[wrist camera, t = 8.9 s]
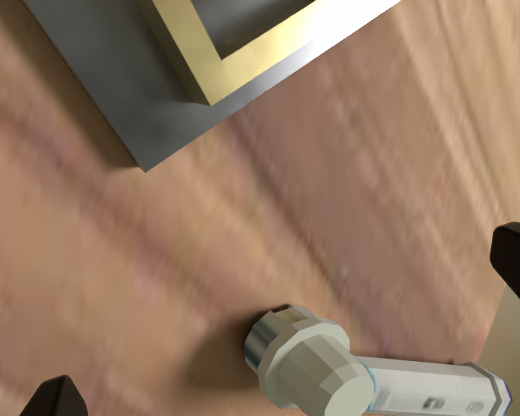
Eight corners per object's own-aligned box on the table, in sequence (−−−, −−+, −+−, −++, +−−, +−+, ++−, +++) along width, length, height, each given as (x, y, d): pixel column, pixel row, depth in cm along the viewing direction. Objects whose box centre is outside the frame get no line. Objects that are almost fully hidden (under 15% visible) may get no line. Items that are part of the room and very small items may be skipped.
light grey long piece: (497, 439, 34) (299, 472, 18) (426, 386, 39) (222, 375, 23) (527, 382, 34) (353, 365, 18) (452, 337, 39) (263, 291, 23)
